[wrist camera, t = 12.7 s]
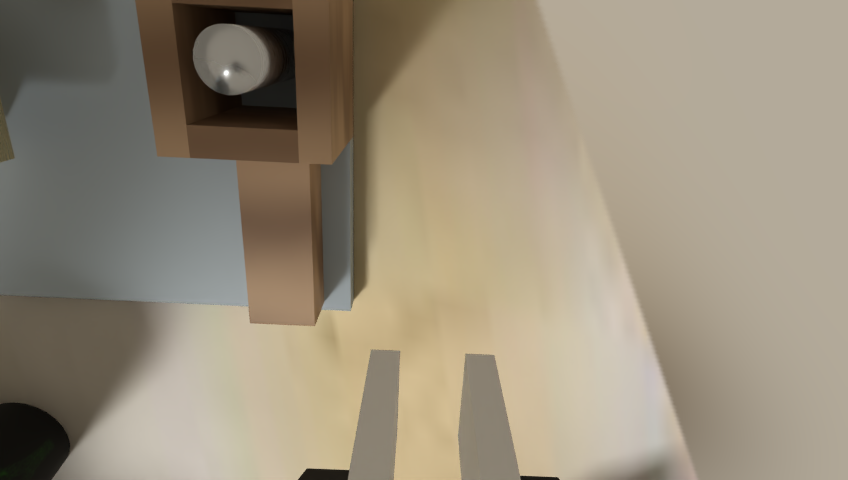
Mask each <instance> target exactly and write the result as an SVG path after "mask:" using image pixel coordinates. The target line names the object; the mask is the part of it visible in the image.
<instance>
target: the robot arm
mask: <svg viewBox="0 0 848 480" xmlns="http://www.w3.org/2000/svg"><path fill="white" fill-rule="evenodd" d="M399 365H400V351H392V350H371V354H370V359H369V365H368V370H367V376H366V381H365V387H364V392H363V398H362V403H361V409H360V414H359V420H358V426H357V431H356V437H355V442H354V448H353V453H352V459H351V464H350V470H330V469H306V470H305V472H304V473H303V474H302V475H301V477H300V478H299V479H298V480H393V479H394V466H395V453H396V440H397V419H398V392H399ZM458 441H459V454H460V467H461V479H462V480H560V479H559V478H558V477H535V476H520V474H519V469H518V464H517V460H516V455H515V450H514V446H513V441H512V436H511V431H510V427H509V422H508V417H507V413H506V408H505V403H504V399H503V394H502V389H501V385H500V380H499V375H498V370H497V366H496V361H495V356H494V355H482V354H465V365H464V376H463V387H462V398H461V409H460V420H459V431H458Z"/></svg>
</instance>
